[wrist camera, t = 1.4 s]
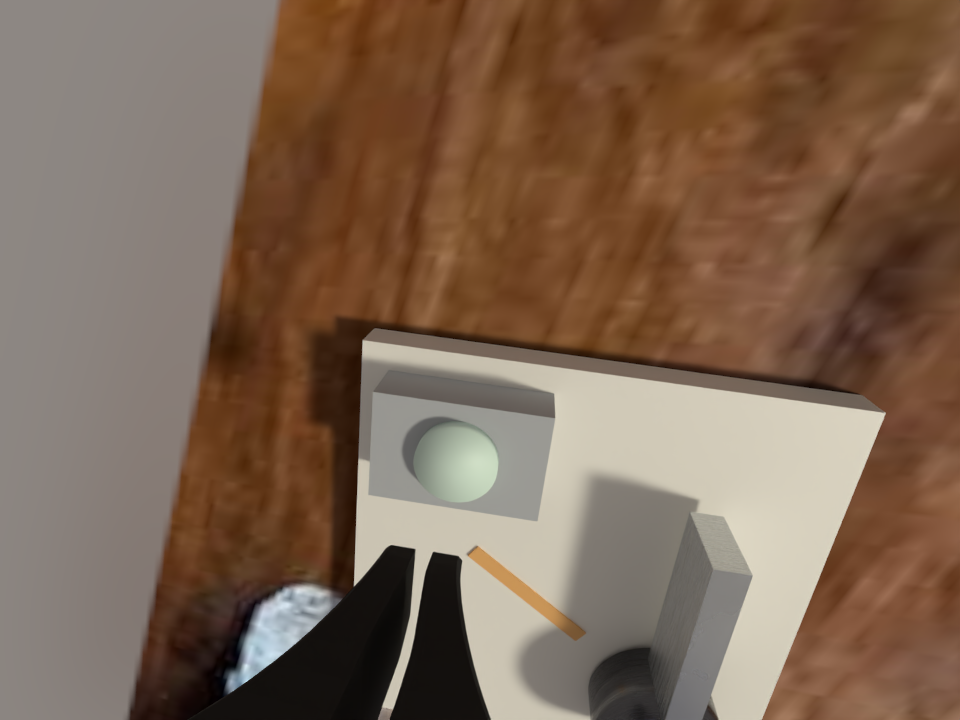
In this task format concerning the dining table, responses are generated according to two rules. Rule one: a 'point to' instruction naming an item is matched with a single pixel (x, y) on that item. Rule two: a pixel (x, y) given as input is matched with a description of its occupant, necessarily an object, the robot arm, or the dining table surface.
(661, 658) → the knob
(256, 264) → the dining table surface
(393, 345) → the leveling plate
